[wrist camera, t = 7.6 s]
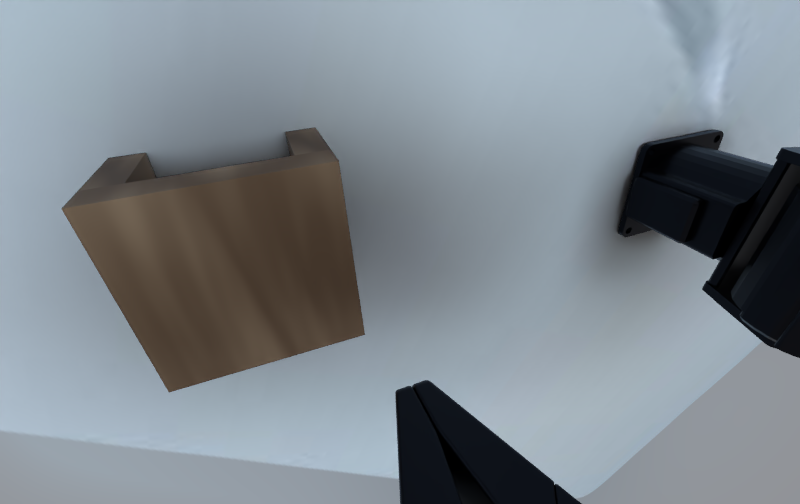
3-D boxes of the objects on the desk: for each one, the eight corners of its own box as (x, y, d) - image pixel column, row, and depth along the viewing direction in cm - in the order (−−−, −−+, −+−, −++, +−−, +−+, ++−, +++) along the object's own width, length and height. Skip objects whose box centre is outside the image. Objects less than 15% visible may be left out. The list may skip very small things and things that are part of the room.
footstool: (338, 160, 13) (61, 208, 11) (364, 334, 17) (169, 392, 15) (315, 127, 17) (108, 158, 15) (341, 275, 21) (183, 315, 19)
